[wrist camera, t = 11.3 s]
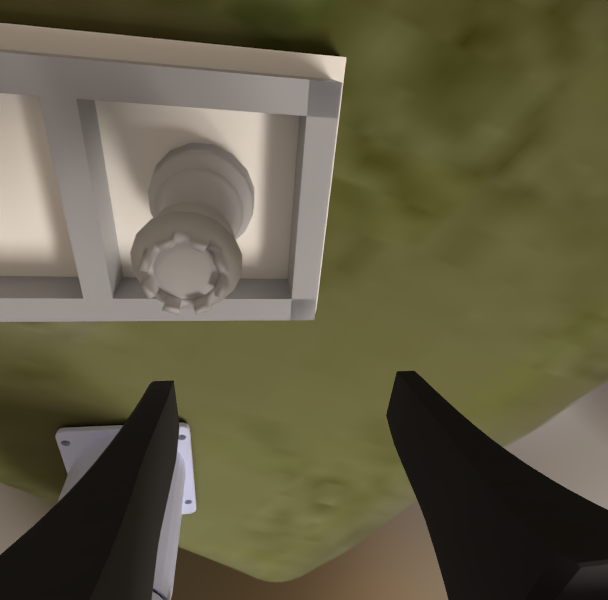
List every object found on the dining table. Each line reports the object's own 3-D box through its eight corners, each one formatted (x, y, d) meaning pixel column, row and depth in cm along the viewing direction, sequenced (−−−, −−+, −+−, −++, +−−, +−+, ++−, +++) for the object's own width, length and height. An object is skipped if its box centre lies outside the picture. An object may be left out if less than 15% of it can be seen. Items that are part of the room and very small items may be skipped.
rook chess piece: (274, 182, 18) (295, 260, 12) (220, 256, 20) (210, 363, 13) (185, 116, 17) (148, 164, 10) (132, 203, 18) (69, 297, 11)
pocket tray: (313, 301, 23) (322, 332, 21) (-103, 301, 20) (-153, 338, 17) (340, 56, 17) (358, 58, 15) (-255, -3, 14) (-366, -14, 11)
